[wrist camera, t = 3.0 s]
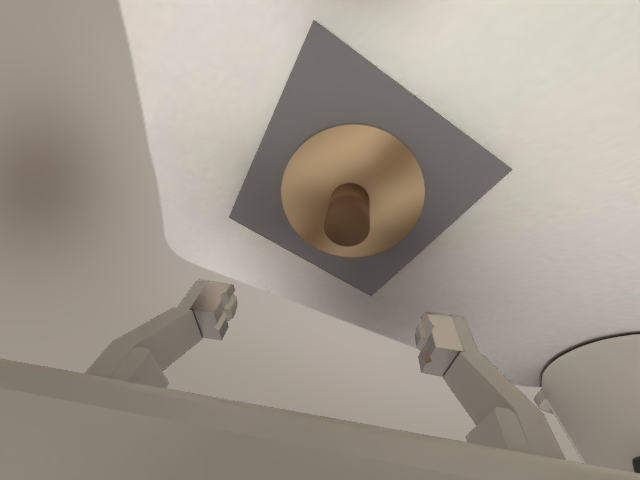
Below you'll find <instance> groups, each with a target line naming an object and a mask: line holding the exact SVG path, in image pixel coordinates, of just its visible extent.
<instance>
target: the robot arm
mask: <svg viewBox="0 0 640 480" xmlns="http://www.w3.org/2000/svg"><path fill="white" fill-rule="evenodd" d="M234 292H235V288H234V285H232V284H226V283H220V282H215V281H208V280H202V279H199V280H198V281H196V282H195V283H194V285H193V286H192V288H191V289H190V290H189V292H188V293H187V294H186V296H185V297H184V298H183V300H182V301H181V303H180V304H179V305H178V307H177V308H174V307H173V308H171V309H169V310H168V311H166V312H164V313H162V314H161V315H159V316H157V317H155V318H153V319H151V320H150V321H148V322H146V323H144V324H143V325H141V326H139V327H137V328H135V329H133V330H132V331H130V332H128V333H126V334H124V335H123V336H121V337H119V338H117V339H115V340H114V341H112V342H111V343H110V345H109V346H108V347H107V348H106V349H105V350H104V352H103V353H102V354H101V355H100V356H99V357H98V358H97V359H96V361H95V362H94V363H93V364H92V365H91V366H90V367H89V369H88V370H87V371H86V372H85V373H79V372H73V371H68V370H62V369H56V368H51V367H45V366H40V365H34V364H29V363H23V362H17V361H12V360H7V359H1V358H0V480H640V334H636V335H627V336H620V337H614V338H609V339H605V340H601V341H597V342H593V343H590V344H587V345H584V346H581V347H579V348H576V349H574V350H572V351H570V352H568V353H566V354H564V355H562V356H561V357H559V358H557V359H556V360H555V361H553V362H552V363H551V364H550V365H549V366H548V367H547V368H546V370H545V371H544V373H543V375H542V389H541V391H540V392H539V393H538V394H537V395H536V396H535V399H534V400H535V402H536V404H537V405H538V407H539V408H540V409H541V410H543V411H546V412H549V413H552V414H554V415H555V416H556V418H557V420H558V421H559V423H560V425H561V426H562V428H563V430H564V431H565V433H566V435H567V437H568V438H569V440H570V441H571V443H572V445H573V447H574V448H575V450H576V451H577V453H578V455H579V456H580V458H581V460H582V461H583V463H579V462H573V461H567V460H566V459H565V457H564V455H563V453H562V451H561V449H560V446H559V444H558V442H557V440H556V438H555V437H554V434H553V432H552V431H551V428H550V426H549V424H548V422H547V420H546V418H545V416H544V414H543V413H542V412H541V411H540V410H539V409H538V408H537V407H536V406H535V405H534V404H533V403H532V402H531V401H530V400H529V399H528V398H527V397H526V396H525V395H524V394H523V393H522V392H520V391H519V390H518V389H517V388H516V387H515V386H514V385H513V384H512V383H511V382H510V381H509V380H508V379H507V378H506V377H505V376H504V375H503V374H502V373H501V372H500V371H499V370H498V369H497V368H496V367H495V366H494V365H493V364H492V363H491V362H490V361H489V360H488V359H487V358H486V357H485V356H484V355H480V354H479V352H478V350H477V347H476V345H475V342H474V340H473V337H472V334H471V332H470V329H469V327H468V324H467V322H466V319H465V318H464V317H459V316H452V315H446V314H439V313H431V312H424V313H423V315H422V317H421V318H422V322H421V323H419V324H418V326H417V328H416V334H415V339H416V346H417V348H418V349H419V350H420V351H421V352H420V355H419V357H418V358H419V363H420V368H421V372H422V373H426V374H431V375H437V376H442V377H443V379H444V380H445V381H446V383H447V384H448V386H449V387H450V388H451V390H452V392H453V393H454V394H455V396H456V397H457V399H458V400H459V401H460V402H461V404H462V406H463V407H464V409H465V410H466V411H467V413H468V414H469V416H470V417H471V418H472V420H473V421H474V423H475V424H476V425H477V426H476V427H475V428H474V429H473V430H472V431H471V432H470V433H469V434H468V435H467V436H466V440H467V442H462V441H457V440H451V439H446V438H440V437H435V436H429V435H424V434H418V433H412V432H407V431H401V430H396V429H390V428H385V427H379V426H373V425H368V424H363V423H357V422H351V421H346V420H340V419H335V418H329V417H324V416H318V415H312V414H307V413H301V412H295V411H290V410H285V409H279V408H274V407H267V406H262V405H257V404H251V403H245V402H240V401H235V400H228V399H223V398H218V397H212V396H207V395H201V394H195V393H190V392H184V391H179V390H173V389H168V388H167V386H168V380H167V378H166V376H165V375H164V373H163V371H164V370H165V369H166V368H167V367H169V366H170V365H171V364H172V363H173V362H175V361H176V360H177V359H178V358H180V357H181V356H182V355H183V354H185V353H186V352H187V351H188V350H189V349H191V348H192V347H193V346H194V345H196V344H197V343H198V342H199V341H200V340H201V339H202V338H209V339H216V340H222V339H223V337H224V335H225V333H226V331H227V329H228V323H227V322H228V321H229V320H231V319H232V318H233V316H234V315H235V312H236V308H237V298H236V296H235V295H234V294H233V293H234Z"/></svg>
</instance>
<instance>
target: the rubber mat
mask: <svg viewBox="0 0 640 480" xmlns="http://www.w3.org/2000/svg"><path fill="white" fill-rule="evenodd" d="M347 123H359V124H367V125H371V126H376V127H378V128H381V129H383V130H386V131H388V132H389V133H391V134H393V135H394V136H396V137H397V138H398V139H400V140H401V141H402V142H403V143H404V144H405V145H406V146H407V147H408V148H409V149H410V151H411V152H412V154H413V155H414V157H415V158H416V160H417V162H418V165H419V167H420V169H421V172H422V175H423V178H424V186H425V198H424V204H423V208H422V211H421V214H420V216H419V218H418V220H417V222H416V224H415V225H414V227H413V228H412V230H411V231H410V232H409V233H408V234H407V235H406V236H405V237H404V238H403V239H402V240H401V241H400V242H398V243H397V244H395V245H394V246H392V247H390V248H389V249H387V250H385V251H382V252H380V253H377V254H373V255H369V256H363V257H343V256H337V255H333V254H329V253H326V252H324V251H321V250H319V249H317V248H315V247H314V246H312V245H311V244H309V243H308V242H307V241H305V240H304V239H303V238H302V237H301V236H300V235H299V234H298V233H297V232H296V231H295V229H294V228H293V227H292V225H291V224H290V222H289V220H288V218H287V216H286V214H285V211H284V208H283V204H282V198H281V185H282V179H283V175H284V171H285V169H286V167H287V164H288V162H289V161H290V159H291V157H292V156H293V154H294V153H295V152H296V151H297V149H298V148H299V147H300V146H301V145H302V144H303V143H304V142H305V141H306V140H307V139H308V138H310V137H311V136H313V135H314V134H316V133H317V132H319V131H321V130H323V129H326V128H329V127H332V126H335V125H340V124H347ZM511 170H512V169H511V168H510V167H509V166H507V165H506V164H505V163H503V162H502V161H501V160H499V159H498V158H497V157H495V156H494V155H493V154H491V153H490V152H489V151H487V150H486V149H485V148H483V147H482V146H481V145H479V144H478V143H477V142H475V141H474V140H473V139H471V138H470V137H469V136H467V135H466V134H465V133H463V132H462V131H461V130H459V129H458V128H457V127H455V126H454V125H453V124H451V123H450V122H449V121H447V120H446V119H445V118H443V117H442V116H441V115H439V114H438V113H437V112H435V111H434V110H433V109H431V108H430V107H429V106H427V105H426V104H425V103H423V102H422V101H421V100H419V99H418V98H417V97H415V96H414V95H413V94H411V93H410V92H409V91H407V90H406V89H405V88H403V87H402V86H401V85H399V84H398V83H397V82H395V81H394V80H393V79H391V78H390V77H389V76H387V75H386V74H385V73H383V72H382V71H381V70H379V69H378V68H377V67H376V66H374V65H373V64H372V63H370V62H369V61H368V60H366V59H365V58H364V57H362V56H361V55H360V54H358V53H357V52H356V51H354V50H353V49H352V48H350V47H349V46H348V45H346V44H345V43H344V42H342V41H341V40H340V39H338V38H337V37H336V36H334V35H333V34H332V33H330V32H329V31H328V30H326V29H325V28H324V27H322V26H321V25H320V24H318V23H317V22H316V21H314V20H313V23H312V25H311V27H310V30H309V32H308V34H307V37H306V39H305V41H304V44H303V46H302V48H301V51H300V53H299V55H298V58H297V60H296V62H295V65H294V67H293V69H292V72H291V74H290V76H289V79H288V81H287V83H286V86H285V88H284V90H283V93H282V95H281V97H280V100H279V102H278V104H277V107H276V109H275V111H274V114H273V116H272V118H271V121H270V123H269V125H268V128H267V130H266V132H265V135H264V137H263V139H262V141H261V144H260V146H259V148H258V151H257V153H256V155H255V158H254V160H253V162H252V165H251V167H250V169H249V172H248V174H247V176H246V179H245V181H244V183H243V186H242V188H241V190H240V193H239V195H238V197H237V200H236V202H235V204H234V207H233V209H232V211H231V214H230V216H229V218H231V219H233V220H234V221H236V222H238V223H240V224H242V225H243V226H245V227H247V228H249V229H251V230H252V231H254V232H256V233H258V234H260V235H262V236H263V237H265V238H267V239H269V240H271V241H272V242H274V243H276V244H278V245H280V246H281V247H283V248H285V249H287V250H289V251H290V252H292V253H294V254H296V255H298V256H299V257H301V258H303V259H305V260H307V261H308V262H310V263H312V264H314V265H316V266H318V267H319V268H321V269H323V270H325V271H327V272H328V273H330V274H332V275H334V276H336V277H337V278H339V279H341V280H343V281H345V282H346V283H348V284H350V285H352V286H354V287H355V288H357V289H359V290H361V291H363V292H364V293H366V294H368V295H370V296H372V295H373V294H374V293H375V292H376V291H377V290H378V289H380V288H381V287H382V286H383V285H384V284H385V283H386V282H387V281H388V280H390V279H391V278H392V277H393V276H394V275H395V274H396V273H397V272H399V271H400V270H401V269H402V268H403V267H404V266H405V265H406V264H407V263H409V262H410V261H411V260H412V259H413V258H414V257H415V256H416V255H417V254H419V253H420V252H421V251H422V250H423V249H424V248H425V247H426V246H428V245H429V244H430V243H431V242H432V241H433V240H434V239H435V238H436V237H438V236H439V235H440V234H441V233H442V232H443V231H444V230H445V229H447V228H448V227H449V226H450V225H451V224H452V223H453V222H454V221H455V220H457V219H458V218H459V217H460V216H461V215H462V214H463V213H464V212H466V211H467V210H468V209H469V208H470V207H471V206H472V205H473V204H474V203H476V202H477V201H478V200H479V199H480V198H481V197H482V196H483V195H485V194H486V193H487V192H488V191H489V190H490V189H491V188H492V187H493V186H495V185H496V184H497V183H498V182H499V181H500V180H501V179H502V178H503V177H505V176H506V175H507V174H508V173H509V172H510V171H511Z"/></svg>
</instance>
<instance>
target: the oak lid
mask: <svg viewBox="0 0 640 480" xmlns="http://www.w3.org/2000/svg"><path fill="white" fill-rule="evenodd" d="M281 198H282V204H283V208H284V211H285V214H286V216H287V218H288V220H289V222H290V224H291V225H292V227H293V228H294V229H295V231H296V232H297V233H298V234H299V235H300V236H301V237H302V238H303V239H304V240H305V241H307V242H308V243H309V244H311V245H312V246H314V247H315V248H317V249H319V250H321V251H324V252H326V253H329V254H333V255H337V256H343V257H363V256H369V255H373V254H377V253H380V252H382V251H385V250H387V249H389V248H390V247H392V246H394V245H395V244H397V243H398V242H400V241H401V240H402V239H403V238H404V237H405V236H406V235H407V234H408V233H409V232H410V231H411V230H412V228H413V227H414V225H415V224H416V222H417V220H418V218H419V216H420V214H421V211H422V208H423V204H424V198H425V186H424V178H423V175H422V172H421V169H420V167H419V165H418V162H417V160H416V158H415V157H414V155H413V154H412V152H411V151H410V149H409V148H408V147H407V146H406V145H405V144H404V143H403V142H402V141H401V140H400V139H398V138H397V137H396V136H394V135H393V134H391V133H389V132H388V131H386V130H383V129H381V128H378V127H376V126H371V125H367V124H359V123H347V124H340V125H335V126H332V127H329V128H326V129H323V130H321V131H319V132H317V133H316V134H314V135H313V136H311V137H310V138H308V139H307V140H306V141H305V142H304V143H303V144H302V145H301V146H300V147H299V148H298V149H297V151H296V152H295V153H294V154H293V156H292V157H291V159H290V161H289V162H288V164H287V167H286V169H285V171H284V175H283V179H282V185H281Z"/></svg>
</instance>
